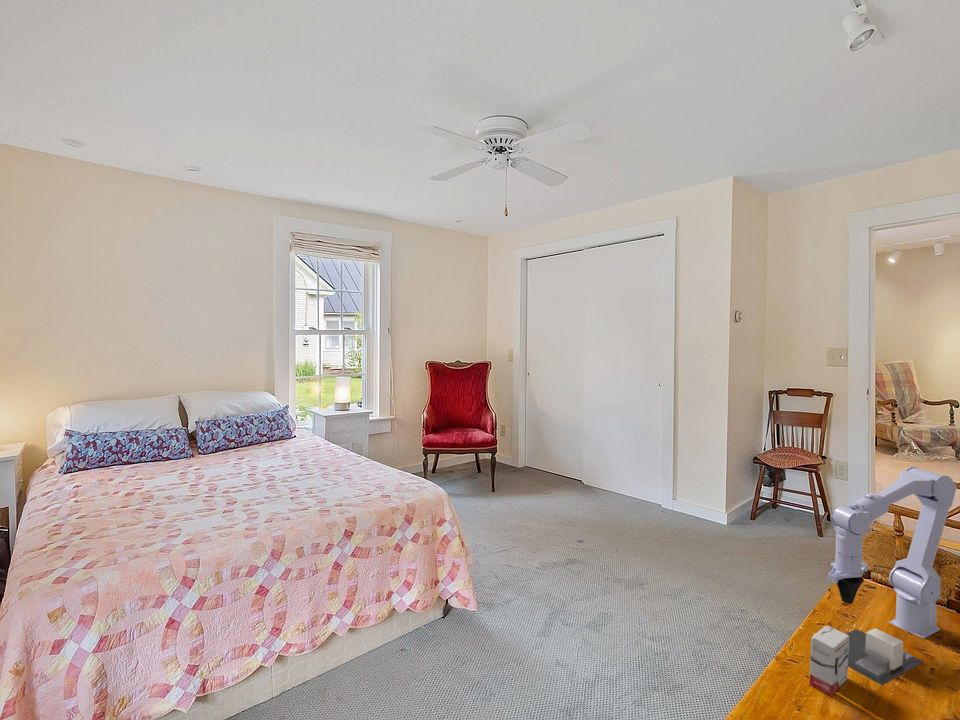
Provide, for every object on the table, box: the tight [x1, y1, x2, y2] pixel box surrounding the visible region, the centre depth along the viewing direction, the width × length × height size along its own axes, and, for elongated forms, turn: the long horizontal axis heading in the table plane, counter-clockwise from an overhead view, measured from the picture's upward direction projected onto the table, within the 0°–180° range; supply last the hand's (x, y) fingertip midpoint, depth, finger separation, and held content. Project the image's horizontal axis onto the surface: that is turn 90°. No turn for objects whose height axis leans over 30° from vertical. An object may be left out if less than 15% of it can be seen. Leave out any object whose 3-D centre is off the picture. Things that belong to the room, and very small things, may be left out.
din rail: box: [846, 628, 924, 686], centre depth 127 cm, size 18×15×4 cm
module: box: [865, 627, 904, 670], centre depth 124 cm, size 4×6×6 cm, turn 25°
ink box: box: [808, 625, 849, 697], centre depth 118 cm, size 8×5×12 cm, turn 123°
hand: (847, 602), depth 135 cm, fingers closed
